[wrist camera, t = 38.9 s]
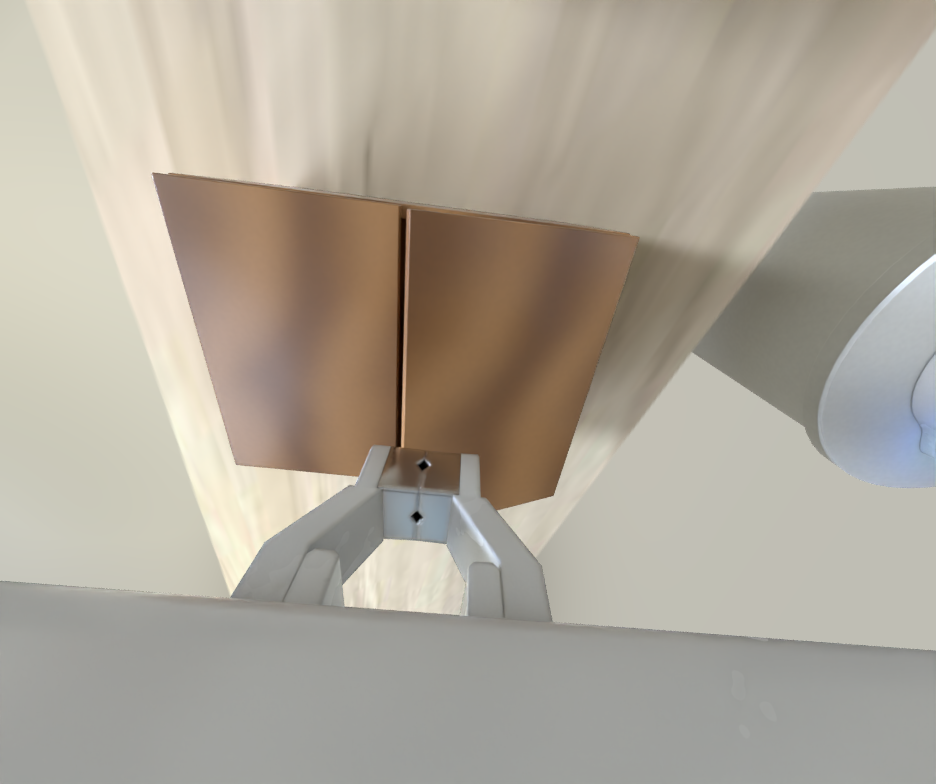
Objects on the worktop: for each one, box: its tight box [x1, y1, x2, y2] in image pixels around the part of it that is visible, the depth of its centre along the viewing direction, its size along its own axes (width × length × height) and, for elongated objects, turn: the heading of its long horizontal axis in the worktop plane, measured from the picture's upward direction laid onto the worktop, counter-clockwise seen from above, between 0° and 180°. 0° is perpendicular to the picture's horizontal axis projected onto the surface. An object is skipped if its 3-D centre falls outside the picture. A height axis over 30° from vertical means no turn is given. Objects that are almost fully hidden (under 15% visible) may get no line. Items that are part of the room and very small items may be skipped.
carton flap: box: [401, 209, 639, 510], centre depth 14 cm, size 8×13×1 cm, turn 173°
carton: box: [152, 173, 630, 477], centre depth 19 cm, size 17×13×10 cm
